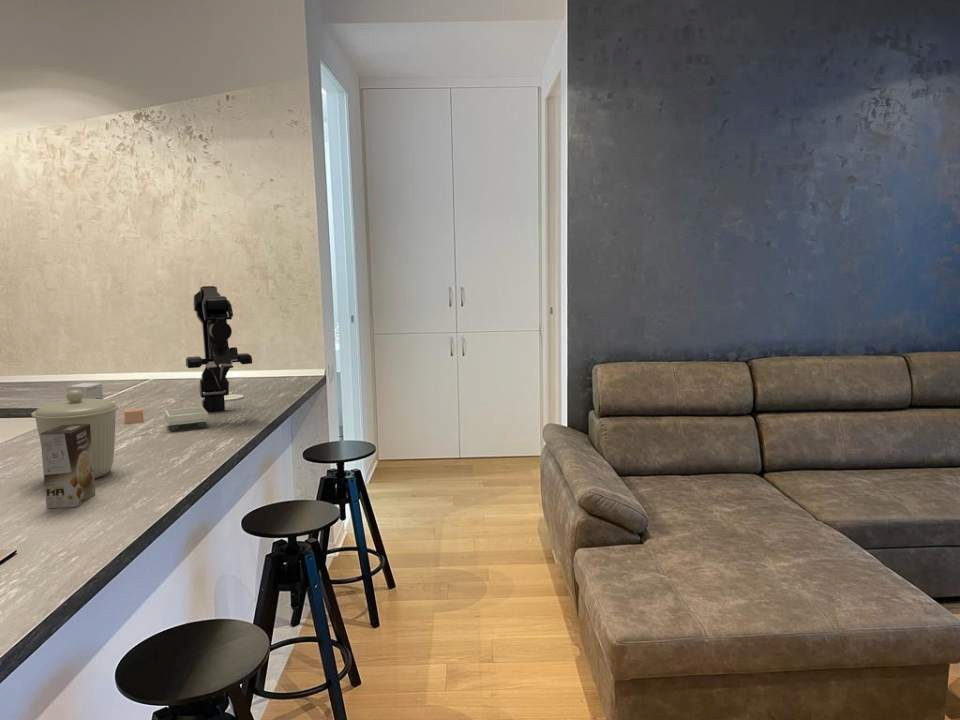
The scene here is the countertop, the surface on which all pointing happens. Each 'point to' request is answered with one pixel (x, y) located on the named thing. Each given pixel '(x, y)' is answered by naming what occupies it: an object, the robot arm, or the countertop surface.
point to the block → (133, 415)
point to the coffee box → (67, 465)
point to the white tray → (186, 417)
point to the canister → (84, 412)
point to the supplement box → (88, 390)
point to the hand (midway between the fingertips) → (220, 388)
